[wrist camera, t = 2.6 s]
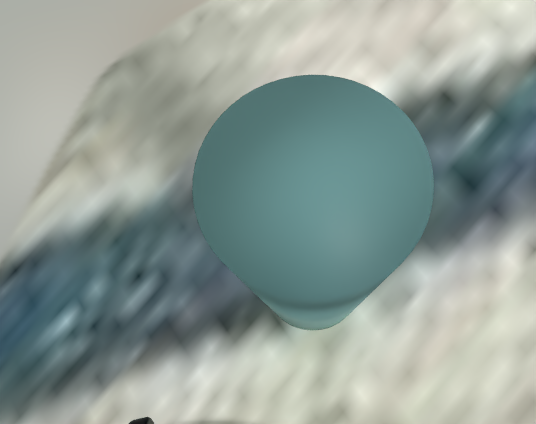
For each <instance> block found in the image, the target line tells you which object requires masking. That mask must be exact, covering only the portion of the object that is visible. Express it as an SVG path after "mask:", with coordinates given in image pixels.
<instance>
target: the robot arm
mask: <svg viewBox="0 0 536 424" xmlns="http://www.w3.org/2000/svg"><path fill="white" fill-rule="evenodd" d="M129 424H154V422H153V421H152V419H151V418H149V417H144V418H140V419H136V420H133V421H131V422H130V423H129Z"/></svg>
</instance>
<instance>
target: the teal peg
mask: <svg viewBox="0 0 536 424" xmlns="http://www.w3.org/2000/svg"><path fill="white" fill-rule="evenodd" d="M192 194H193V202H194V209H195V213H196V217H197V221H198V223H199V226H200V228H201V231H202V233H203V235H204V237H205V239H206V241H207V242H208V244H209V246H210V247H211V249H212V250H213V251H214V253H215V254H216V255H217V256H218V258H219V259H220V260H221V261H222V262H223V263H224V264H225V265H226V266H227V267H228V268H229V269H230V270H231V271H232V272H233V273H234V274H235V275H236V276H237V277H238V278H239V279H240V280H241V281H243V282H244V283H245V284H246V285H247V286H248V287H249V288H250V289H251V290H252V291H253V292H254V293H255V294H256V295H257V296H258V297H259V298H260V299H261V300H262V301H263V302H264V303H265V304H267V305H268V306H269V307H270V308H271V309H272V310H273V311H274V312H275V313H276V314H277V315H278V316H279V317H280V318H281V319H282V320H284V321H285V322H287V323H288V324H290V325H292V326H294V327H297V328H300V329H304V330H321V329H326V328H329V327H332V326H334V325H336V324H337V323H339V322H341V321H342V320H343V319H344V318H345V317H347V316H348V315H349V314H350V313H351V312H352V311H353V310H354V309H355V308H356V307H357V306H358V305H359V304H360V303H361V302H362V301H363V300H364V299H365V298H366V297H367V296H368V295H369V294H370V293H371V292H372V291H373V290H375V289H376V288H377V287H378V286H379V285H380V284H381V283H382V282H383V281H384V280H385V279H386V278H387V277H388V276H389V275H390V274H391V273H392V272H393V271H394V270H395V269H396V268H397V267H398V266H399V265H400V264H401V263H402V262H403V261H404V260H405V259H406V258H407V256H408V255H409V254H410V253H411V252H412V250H413V249H414V247H415V246H416V244H417V243H418V241H419V240H420V238H421V236H422V234H423V232H424V229H425V227H426V225H427V222H428V219H429V216H430V212H431V209H432V202H433V195H434V178H433V171H432V164H431V161H430V157H429V154H428V151H427V148H426V146H425V144H424V141H423V139H422V137H421V135H420V134H419V132H418V130H417V129H416V127H415V126H414V124H413V123H412V121H411V120H410V119H409V118H408V117H407V116H406V114H405V113H404V112H403V111H402V110H401V109H400V108H399V107H398V106H396V105H395V104H394V103H393V102H392V101H390V100H389V99H388V98H386V97H385V96H383V95H382V94H381V93H379V92H377V91H375V90H373V89H371V88H369V87H368V86H365V85H363V84H360V83H357V82H355V81H352V80H348V79H344V78H340V77H334V76H327V75H303V76H294V77H289V78H284V79H280V80H277V81H274V82H270V83H268V84H265V85H263V86H261V87H259V88H256V89H254V90H253V91H251V92H249V93H248V94H246V95H244V96H243V97H241V98H240V99H239V100H237V101H236V102H235V103H233V104H232V105H231V106H230V107H229V108H228V109H227V110H226V111H225V112H224V113H223V114H222V115H221V116H220V117H219V118H218V120H217V121H216V122H215V123H214V125H213V126H212V127H211V129H210V131H209V132H208V134H207V136H206V137H205V139H204V141H203V143H202V146H201V148H200V150H199V153H198V156H197V160H196V163H195V168H194V174H193V190H192Z"/></svg>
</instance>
